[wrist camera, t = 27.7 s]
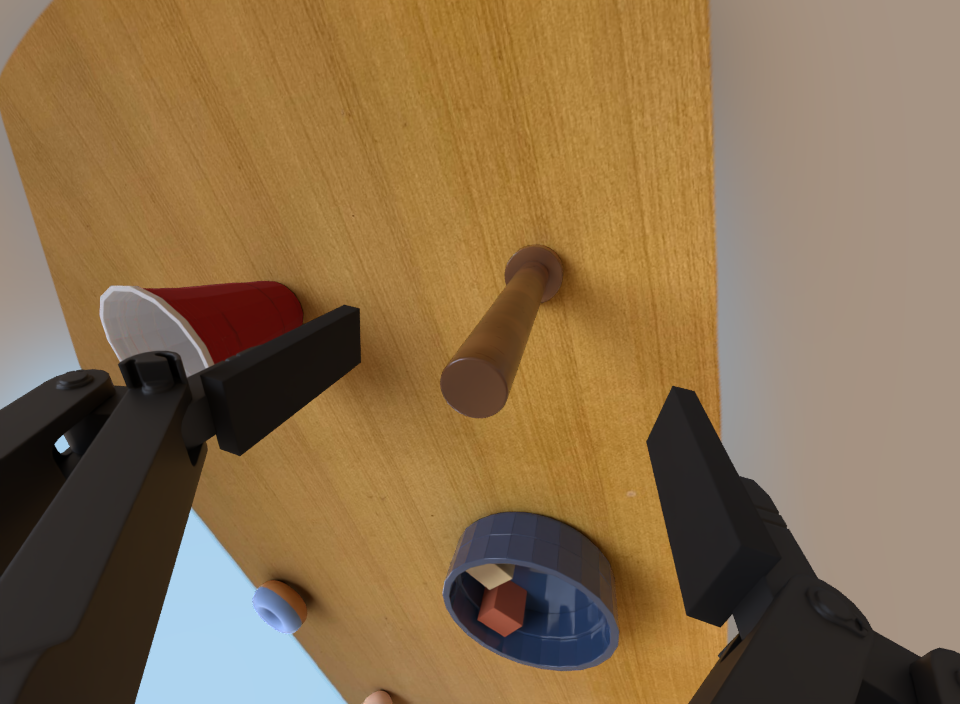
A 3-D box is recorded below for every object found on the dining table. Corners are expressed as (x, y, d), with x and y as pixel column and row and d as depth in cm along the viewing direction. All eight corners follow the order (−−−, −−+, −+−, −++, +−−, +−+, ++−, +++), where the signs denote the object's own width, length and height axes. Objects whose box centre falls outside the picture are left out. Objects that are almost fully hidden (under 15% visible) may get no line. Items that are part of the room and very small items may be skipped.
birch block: (518, 545, 40) (512, 578, 37) (497, 557, 42) (489, 590, 39) (493, 524, 40) (484, 556, 37) (472, 537, 42) (462, 569, 39)
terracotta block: (527, 590, 44) (522, 626, 40) (510, 602, 46) (504, 637, 42) (500, 573, 44) (493, 607, 40) (485, 586, 46) (477, 619, 42)
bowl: (637, 542, 36) (647, 602, 31) (588, 632, 45) (588, 690, 40) (468, 488, 40) (451, 535, 34) (452, 582, 48) (436, 631, 43)
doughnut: (262, 590, 65) (241, 617, 61) (269, 566, 60) (247, 593, 56) (308, 618, 65) (290, 646, 61) (319, 595, 60) (300, 625, 56)
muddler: (574, 280, 27) (564, 413, 11) (527, 310, 29) (463, 457, 13) (542, 232, 26) (484, 302, 10) (496, 266, 28) (388, 368, 12)
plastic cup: (214, 268, 36) (60, 302, 25) (293, 242, 32) (152, 270, 21) (265, 362, 39) (150, 426, 29) (341, 348, 36) (241, 416, 25)
